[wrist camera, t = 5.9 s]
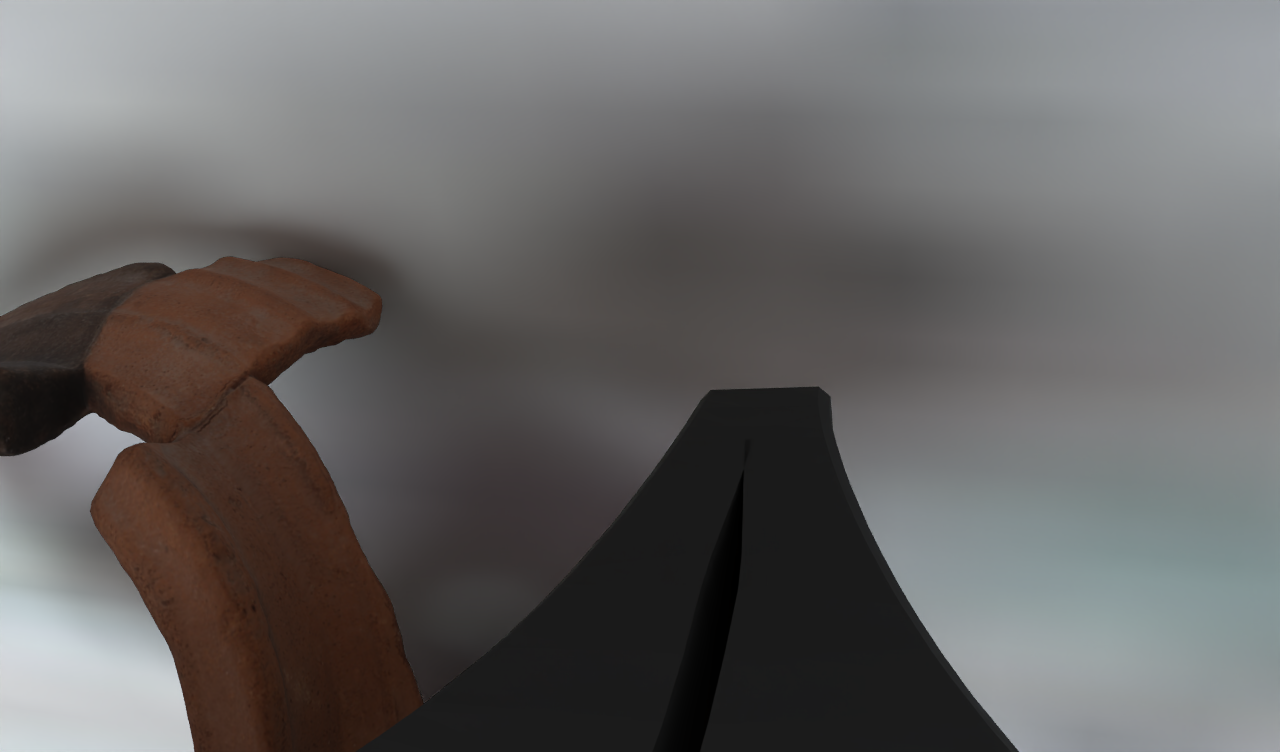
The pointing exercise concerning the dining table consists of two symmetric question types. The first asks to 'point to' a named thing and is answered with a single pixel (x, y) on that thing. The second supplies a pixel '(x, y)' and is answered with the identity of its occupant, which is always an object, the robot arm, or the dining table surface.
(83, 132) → the dining table surface
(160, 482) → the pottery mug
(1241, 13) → the dining table surface
